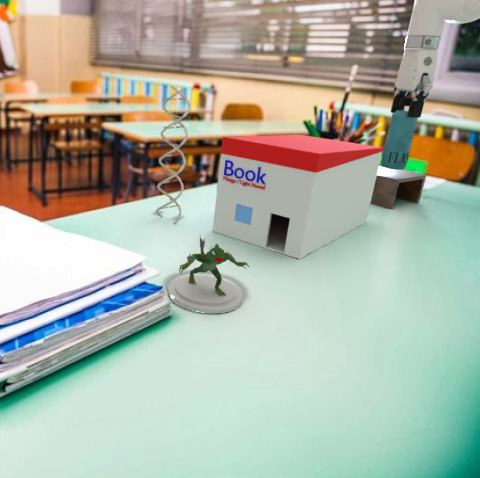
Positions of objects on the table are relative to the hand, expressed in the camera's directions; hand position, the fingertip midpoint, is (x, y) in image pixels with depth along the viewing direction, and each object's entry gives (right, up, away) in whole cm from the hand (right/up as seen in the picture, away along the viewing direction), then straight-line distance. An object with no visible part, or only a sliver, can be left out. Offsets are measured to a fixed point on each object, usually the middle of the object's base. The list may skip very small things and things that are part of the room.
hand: (404, 114), depth 130 cm
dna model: (-64, -29, -15) cm, 72 cm away
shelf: (-1, -22, +9) cm, 24 cm away
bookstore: (-36, -30, -16) cm, 49 cm away
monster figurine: (-62, -42, -50) cm, 90 cm away
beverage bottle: (-1, -15, +6) cm, 16 cm away
